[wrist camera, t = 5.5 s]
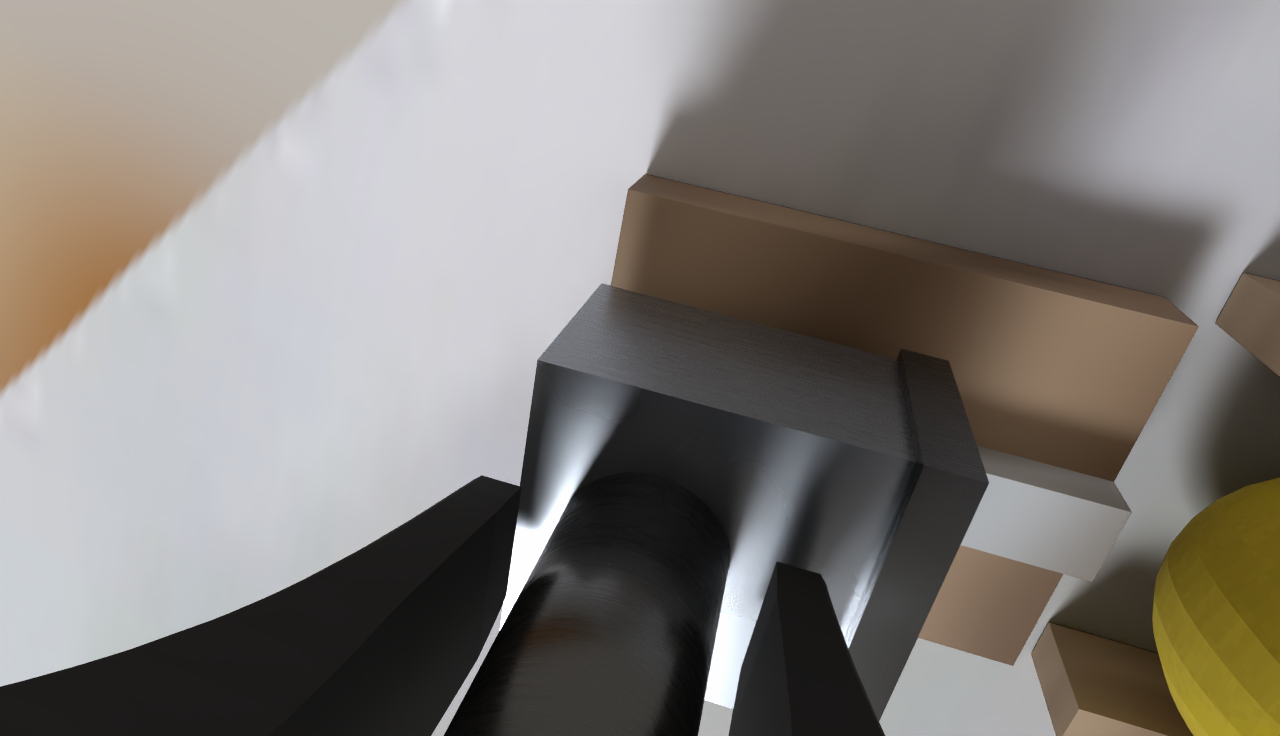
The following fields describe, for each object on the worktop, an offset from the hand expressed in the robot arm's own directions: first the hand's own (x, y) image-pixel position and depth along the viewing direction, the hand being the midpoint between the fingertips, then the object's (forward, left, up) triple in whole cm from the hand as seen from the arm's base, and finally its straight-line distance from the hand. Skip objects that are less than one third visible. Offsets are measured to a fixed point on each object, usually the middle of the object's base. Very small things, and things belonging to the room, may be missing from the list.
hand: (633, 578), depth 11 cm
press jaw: (-1, 0, -4) cm, 4 cm away
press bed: (-3, 0, -7) cm, 7 cm away
